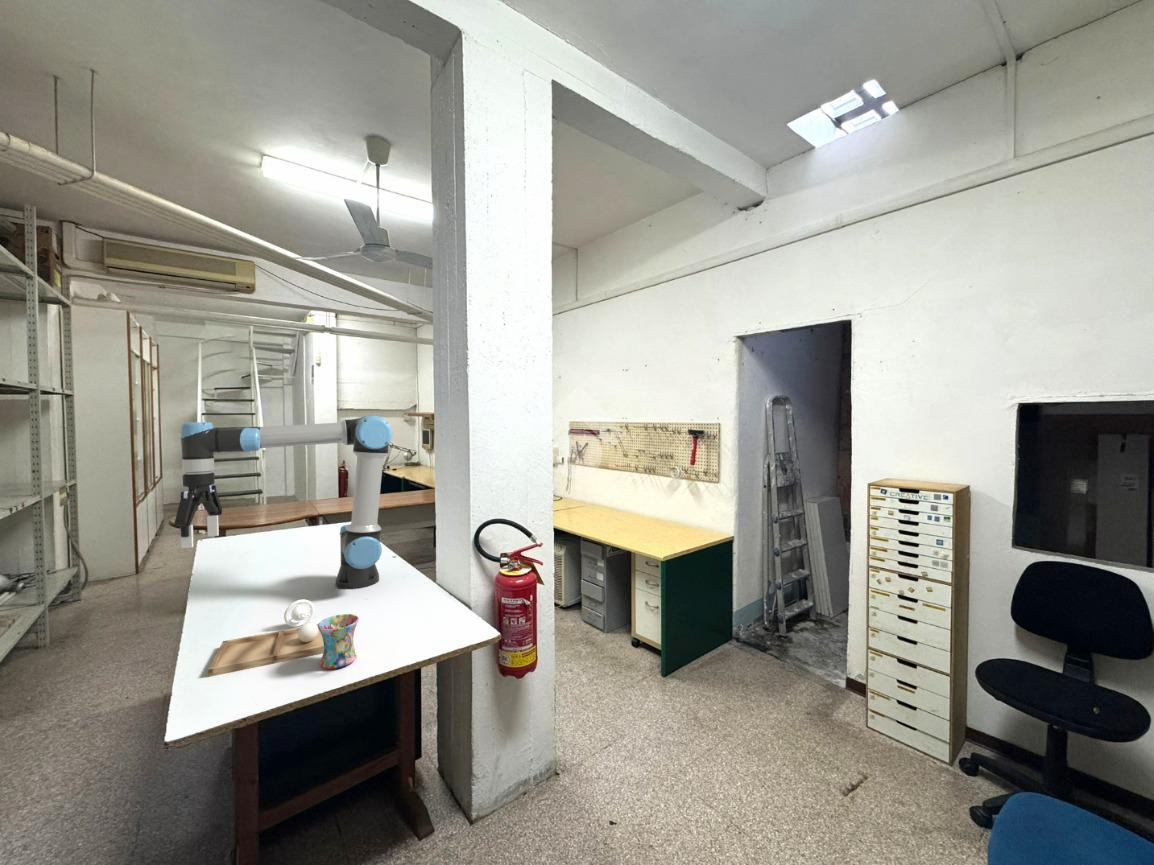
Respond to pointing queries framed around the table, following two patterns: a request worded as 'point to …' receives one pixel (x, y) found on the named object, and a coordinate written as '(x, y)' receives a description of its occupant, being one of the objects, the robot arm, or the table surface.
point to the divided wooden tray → (263, 651)
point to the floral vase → (338, 640)
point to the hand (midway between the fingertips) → (200, 541)
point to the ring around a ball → (299, 613)
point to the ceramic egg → (308, 632)
